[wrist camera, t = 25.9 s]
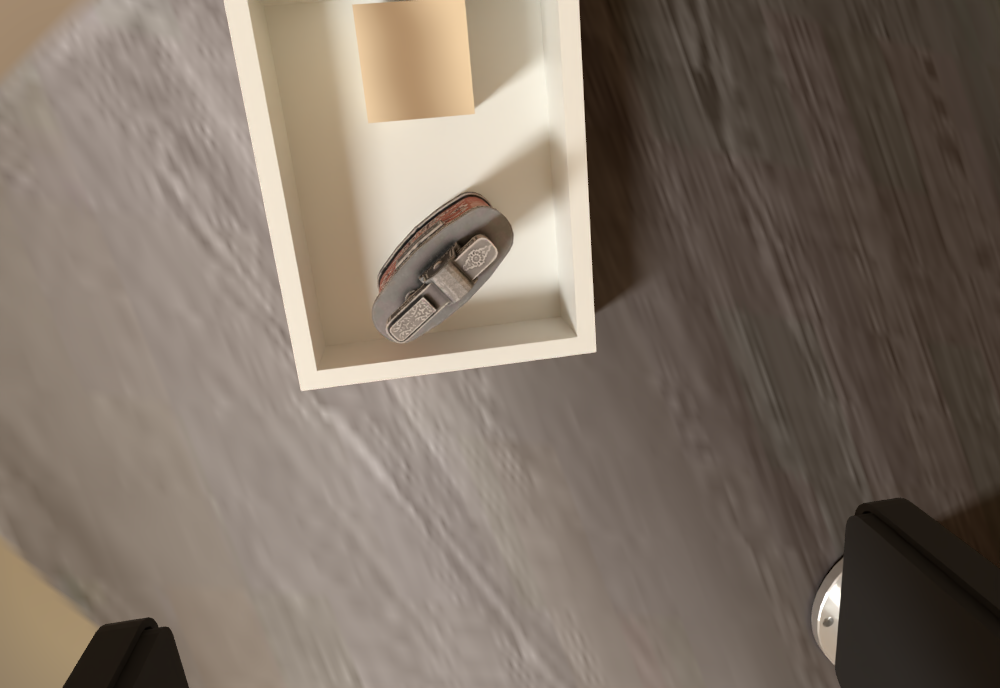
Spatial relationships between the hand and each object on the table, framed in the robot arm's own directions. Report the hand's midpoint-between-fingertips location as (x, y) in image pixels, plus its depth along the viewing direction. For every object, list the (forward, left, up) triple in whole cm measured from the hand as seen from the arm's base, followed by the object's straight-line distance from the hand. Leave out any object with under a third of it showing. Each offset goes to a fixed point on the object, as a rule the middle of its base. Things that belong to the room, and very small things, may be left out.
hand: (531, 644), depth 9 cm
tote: (0, -4, -32) cm, 33 cm away
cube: (0, -9, -32) cm, 33 cm away
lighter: (0, 0, -32) cm, 32 cm away
